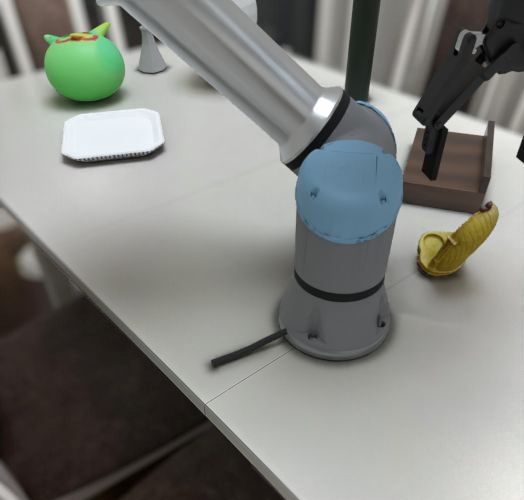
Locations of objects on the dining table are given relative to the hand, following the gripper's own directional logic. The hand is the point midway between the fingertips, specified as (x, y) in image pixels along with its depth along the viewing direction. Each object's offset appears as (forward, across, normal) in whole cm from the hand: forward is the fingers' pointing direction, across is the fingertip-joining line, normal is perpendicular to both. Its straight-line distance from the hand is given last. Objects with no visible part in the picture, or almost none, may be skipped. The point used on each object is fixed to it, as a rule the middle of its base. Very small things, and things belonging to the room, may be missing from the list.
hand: (476, 168), depth 69 cm
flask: (+17, -35, +98) cm, 106 cm away
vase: (+17, -19, +83) cm, 87 cm away
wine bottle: (+17, +10, +65) cm, 68 cm away
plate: (+17, -47, +58) cm, 77 cm away
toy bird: (+17, -51, +83) cm, 99 cm away
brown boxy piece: (+17, +13, +26) cm, 34 cm away
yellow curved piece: (+17, 0, 0) cm, 17 cm away
